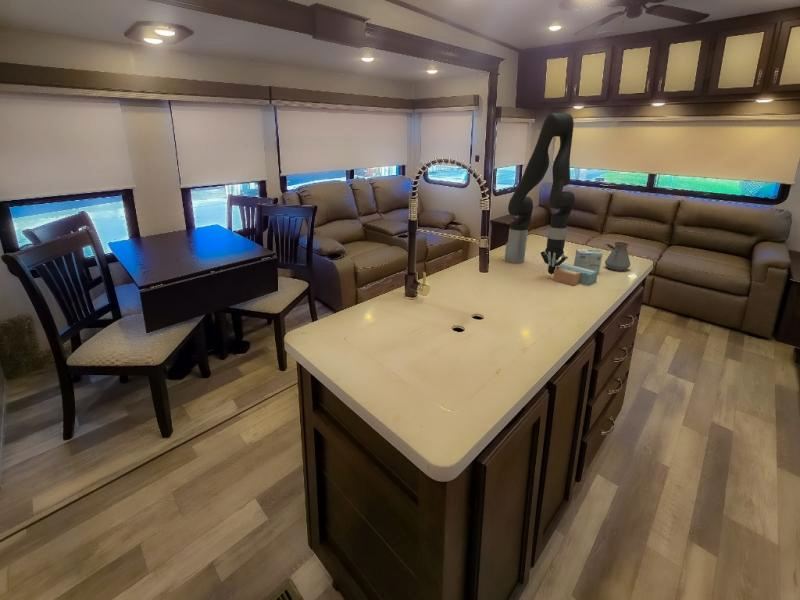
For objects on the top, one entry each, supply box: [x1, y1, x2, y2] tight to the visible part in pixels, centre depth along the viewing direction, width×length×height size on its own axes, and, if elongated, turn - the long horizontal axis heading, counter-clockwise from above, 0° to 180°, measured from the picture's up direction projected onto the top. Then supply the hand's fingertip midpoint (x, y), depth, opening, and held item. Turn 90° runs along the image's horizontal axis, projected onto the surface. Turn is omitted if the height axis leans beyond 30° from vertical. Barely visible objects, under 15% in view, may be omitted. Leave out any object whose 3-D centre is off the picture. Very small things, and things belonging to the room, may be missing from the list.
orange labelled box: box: [552, 268, 581, 287], centre depth 186 cm, size 10×5×5 cm, turn 41°
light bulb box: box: [573, 248, 603, 275], centre depth 199 cm, size 11×7×11 cm, turn 84°
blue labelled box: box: [556, 262, 599, 286], centre depth 190 cm, size 16×8×5 cm, turn 41°
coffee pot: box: [603, 241, 631, 272], centre depth 201 cm, size 21×12×15 cm, turn 127°
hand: (551, 273), depth 192 cm, fingers closed
